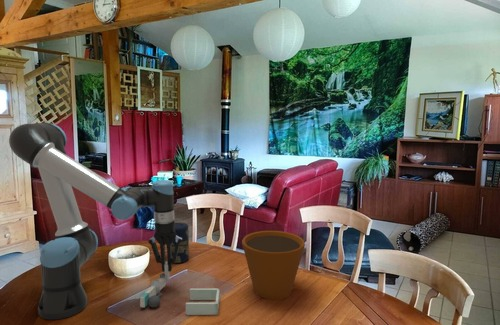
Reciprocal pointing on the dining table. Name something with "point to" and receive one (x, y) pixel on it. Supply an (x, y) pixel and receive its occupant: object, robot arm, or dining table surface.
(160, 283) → the teal-tipped knobbed bar
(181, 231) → the canister
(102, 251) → the dining table surface
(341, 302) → the dining table surface
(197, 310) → the box
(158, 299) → the ball
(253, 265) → the flower pot
